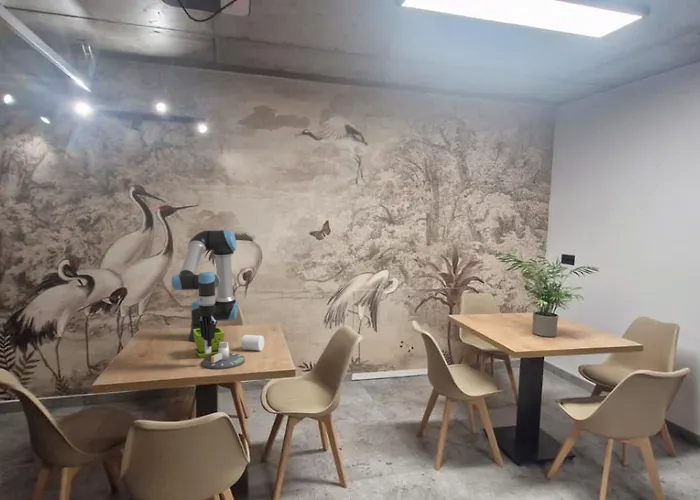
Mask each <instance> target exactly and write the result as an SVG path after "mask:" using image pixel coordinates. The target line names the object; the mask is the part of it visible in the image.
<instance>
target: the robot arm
mask: <svg viewBox="0 0 700 500" xmlns="http://www.w3.org/2000/svg"><path fill="white" fill-rule="evenodd" d="M236 250H237V239H236V236H235V233H234V232H233V231H232V230H225V229H220V230H219V229H218V230H217V229H215V230H208V229H207V230H203V231H200V232H198V233H196V234H195V235H193V237H191V239H190V240H189V242H188V245H187V252H186V255H185V259H184V261H183V263H182V266H181V269H180V271H179V274H174V275H172V278H171V286H172V289H173V290H176V291H177V290H178V291H189V290H192V291H193V290H195V291H196V290H198V300H194V301H193V302H192V303H191V309H190V311H191V314H190V315H191V328H190V332H189V334H188V340H189V341H190V342H194V343H195V340H194V335H193V329H200V332H201V337H203V339H204V345H205V353H206V354H207V353H211V340H212V339H214V337H215V330H216V327H217V324H218V321H219V322H221V321H224V322H226V321H229V322H230V321H235V320H236V319H237V317H238V316H237V315H238V312H239V310H238V309H239V300H237V299H236V297H235V296H234V295H233V276H232V275H233V274H232V273H233V271H232V269H233V268H232V255H234V252H235V251H236ZM206 251H207V252H211V251H212V255H213V256H215V264H216V265H215V267H216V269H215V270H216V273H214V272H213V271H212V272H211V271H204V272H199V273H198V274H197V270H198V268H199V265H200V262H201V258H202V256H203V254H205V252H206ZM216 289H217V290H216ZM216 292H217V294H216ZM216 295H217V296H216ZM198 335H199V334H198Z"/></svg>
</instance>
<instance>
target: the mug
mask: <svg viewBox="0 0 700 500" xmlns="http://www.w3.org/2000/svg"><path fill="white" fill-rule="evenodd" d="M240 342H241V344H240V345H241V349H242V350H245V351H258V352H261V351H263V349H264V346H265V337H264V335H258V334H257V335H253V334H244V335H243V336H242V338H241V341H240Z"/></svg>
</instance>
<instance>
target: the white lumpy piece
mask: <svg viewBox="0 0 700 500" xmlns="http://www.w3.org/2000/svg"><path fill="white" fill-rule="evenodd" d="M229 353H230V346H229V342H225V341H223V342H219V347H218V354H216V355H214V356H211V363H215V362H217V361H219V360H220V361H225V360H228V359H229Z"/></svg>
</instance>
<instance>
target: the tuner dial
mask: <svg viewBox="0 0 700 500" xmlns="http://www.w3.org/2000/svg"><path fill="white" fill-rule="evenodd" d="M213 356H214V355H213ZM245 358H246V357H245V355H242V354H239V353H230V352H229V359H228V360H225V361H220V360H219V361H217V362H215V363H211V356H209V357H204V358H203V360H202V367H204V368H206V369H210V370H226V369H232V368H237V367H240V366H242V365H243V364H244V363H245V362H246V361H245V360H246V359H245Z"/></svg>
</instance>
